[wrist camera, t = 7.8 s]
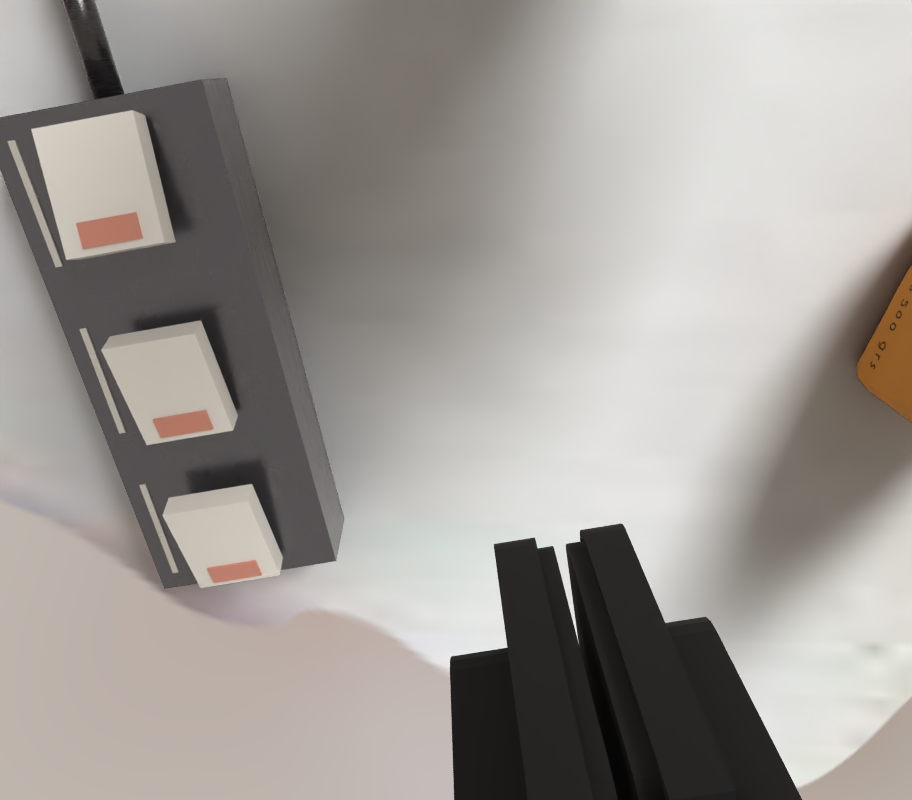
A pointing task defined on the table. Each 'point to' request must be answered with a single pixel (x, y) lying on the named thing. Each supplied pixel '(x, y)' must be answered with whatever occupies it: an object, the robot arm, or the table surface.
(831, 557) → the table surface
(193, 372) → the plate
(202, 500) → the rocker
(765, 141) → the table surface
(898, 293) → the coffee package
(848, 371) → the table surface
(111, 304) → the power strip
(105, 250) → the block
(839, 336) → the table surface
